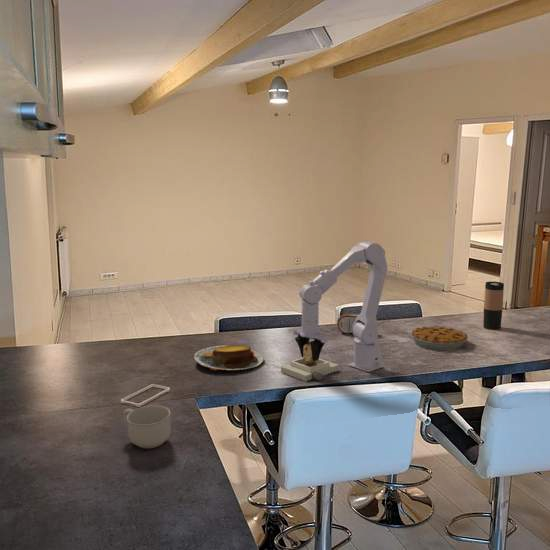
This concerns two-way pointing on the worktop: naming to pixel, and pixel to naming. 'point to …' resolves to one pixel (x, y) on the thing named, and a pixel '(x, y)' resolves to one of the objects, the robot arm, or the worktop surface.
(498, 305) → the travel mug
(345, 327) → the tin
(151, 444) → the teacup
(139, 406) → the phone case
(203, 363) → the food on plate
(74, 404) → the worktop surface
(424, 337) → the pie
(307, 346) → the spout can
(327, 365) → the cream peg hole base
